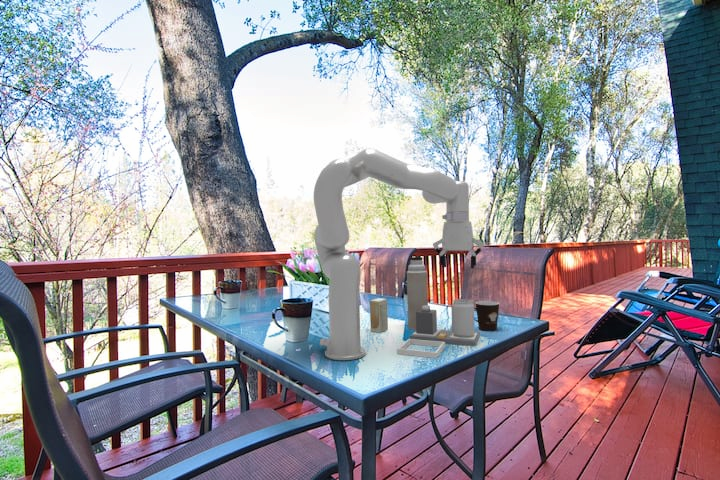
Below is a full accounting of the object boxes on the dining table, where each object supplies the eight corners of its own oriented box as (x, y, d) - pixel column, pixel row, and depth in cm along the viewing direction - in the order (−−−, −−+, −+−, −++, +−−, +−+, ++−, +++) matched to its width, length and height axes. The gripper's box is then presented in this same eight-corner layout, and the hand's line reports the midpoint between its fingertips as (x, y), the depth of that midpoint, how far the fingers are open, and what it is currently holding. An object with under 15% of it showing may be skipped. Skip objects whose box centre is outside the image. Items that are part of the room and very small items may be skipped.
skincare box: (379, 328, 148) (378, 297, 148) (388, 329, 146) (387, 298, 146) (369, 332, 143) (369, 300, 143) (379, 333, 141) (378, 300, 141)
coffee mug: (497, 326, 146) (496, 301, 146) (501, 332, 137) (501, 305, 137) (466, 326, 148) (466, 301, 148) (469, 331, 140) (468, 305, 140)
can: (475, 338, 124) (474, 302, 124) (452, 337, 125) (451, 302, 125) (473, 332, 131) (472, 298, 131) (451, 332, 133) (450, 298, 133)
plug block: (416, 333, 132) (415, 307, 132) (420, 329, 138) (420, 304, 138) (433, 334, 130) (432, 308, 130) (436, 330, 135) (436, 305, 135)
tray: (397, 353, 115) (397, 348, 115) (409, 343, 126) (408, 338, 126) (436, 358, 110) (436, 352, 110) (445, 346, 121) (445, 341, 121)
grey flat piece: (409, 340, 130) (409, 333, 130) (419, 332, 141) (418, 325, 141) (475, 346, 121) (475, 339, 121) (479, 336, 132) (479, 330, 132)
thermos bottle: (426, 325, 151) (425, 256, 151) (430, 330, 143) (428, 257, 143) (407, 325, 151) (405, 256, 151) (409, 330, 143) (407, 257, 143)
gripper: (430, 218, 129) (430, 267, 129) (482, 216, 122) (483, 269, 122) (435, 219, 136) (435, 266, 136) (485, 217, 128) (485, 267, 128)
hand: (458, 267), depth 129 cm, fingers open, 9 cm apart
